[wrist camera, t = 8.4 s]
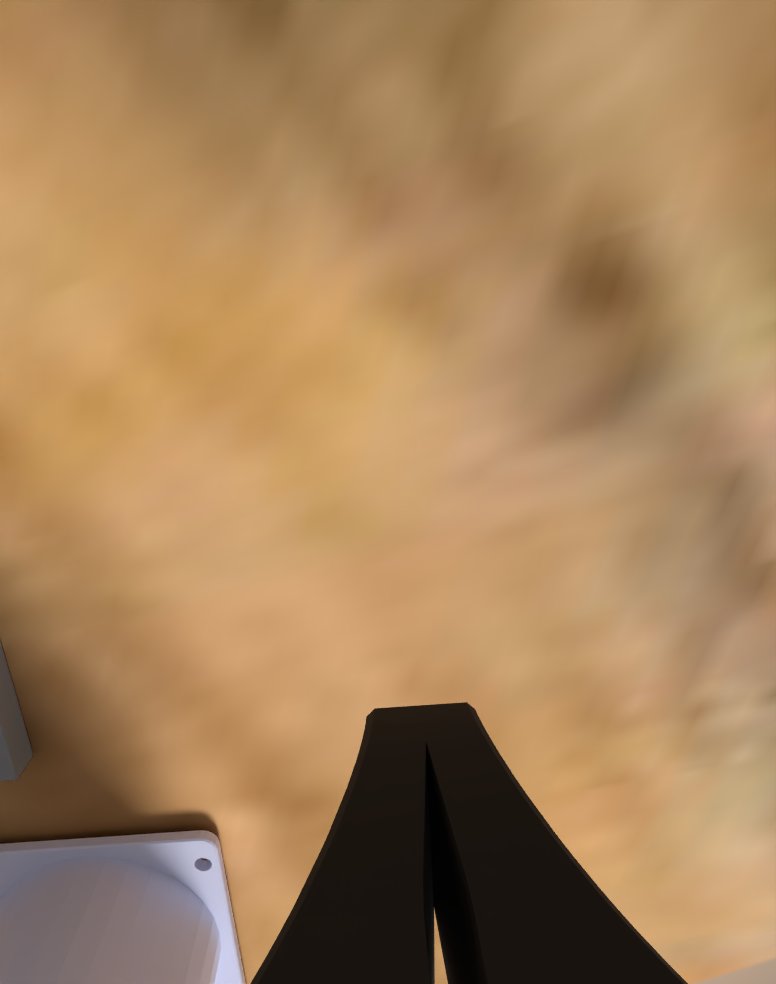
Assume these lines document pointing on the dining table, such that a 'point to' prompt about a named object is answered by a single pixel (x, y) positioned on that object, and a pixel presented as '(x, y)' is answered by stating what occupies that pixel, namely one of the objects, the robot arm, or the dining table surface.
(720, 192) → the dining table surface
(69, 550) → the dining table surface
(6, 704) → the board
